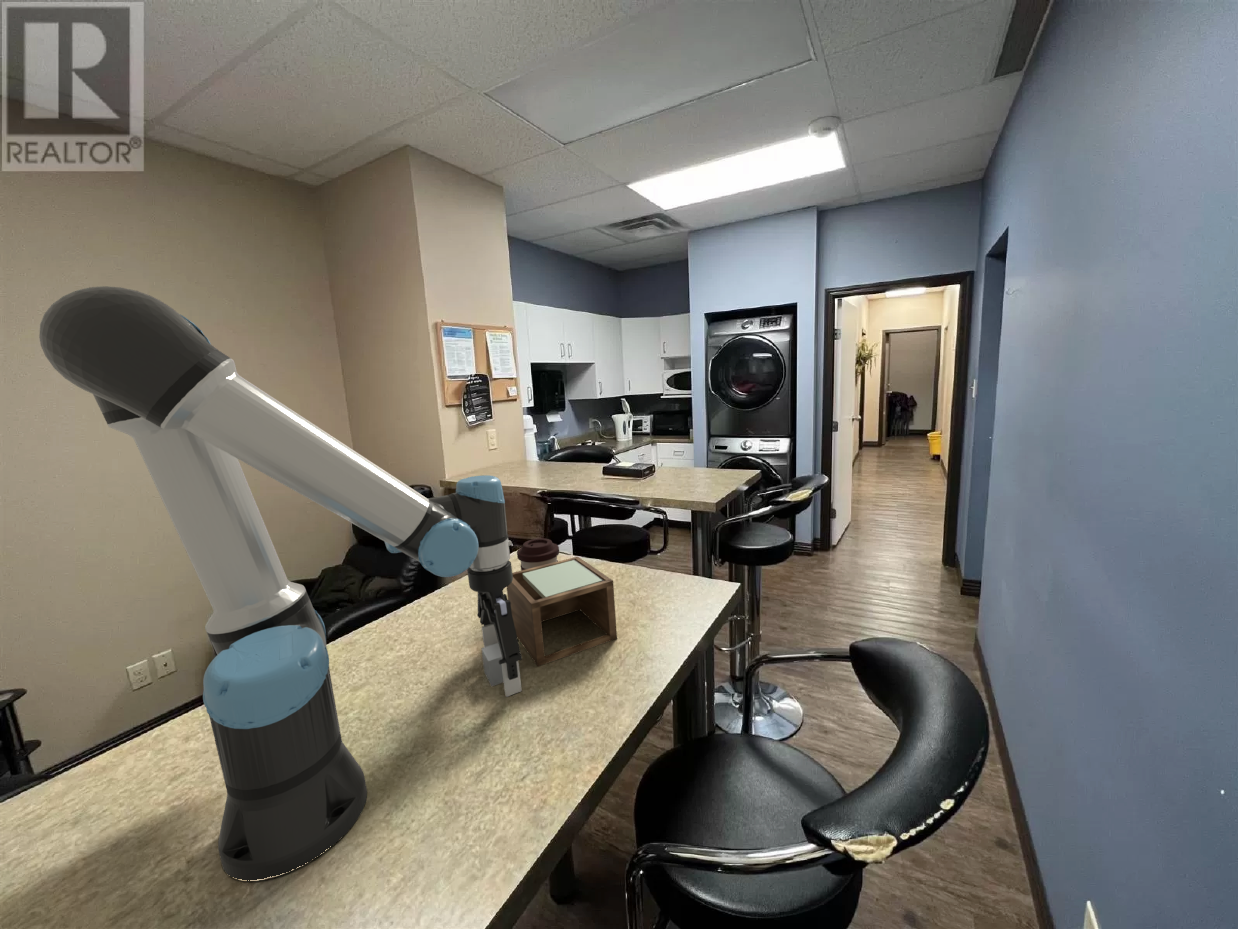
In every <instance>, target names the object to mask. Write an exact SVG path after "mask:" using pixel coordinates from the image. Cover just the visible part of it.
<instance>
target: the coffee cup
mask: <svg viewBox="0 0 1238 929" xmlns="http://www.w3.org/2000/svg"><path fill="white" fill-rule="evenodd" d="M559 555H560V547H559V545H558V544H557V543H554V542H553V541H552V540H551V539H549V538H544V537H543V538H542V537H541V538H533V539H530V540H527V541H525V542H523V544H522V546H521V547H519V548H518V549H517V550H516V556H517V559H518V560H519V561H520V571H522V570H526V569H530V568H534V567H538V566H542V565H546V564H550V563H554V562H558V561H559V560H558V556H559Z"/></svg>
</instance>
